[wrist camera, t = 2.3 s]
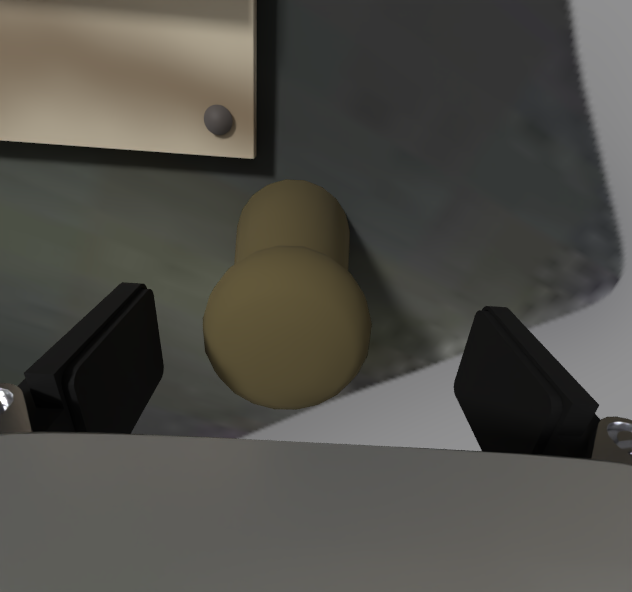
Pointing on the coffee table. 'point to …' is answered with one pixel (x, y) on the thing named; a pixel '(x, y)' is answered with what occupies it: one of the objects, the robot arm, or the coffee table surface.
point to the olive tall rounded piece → (288, 302)
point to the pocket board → (131, 74)
